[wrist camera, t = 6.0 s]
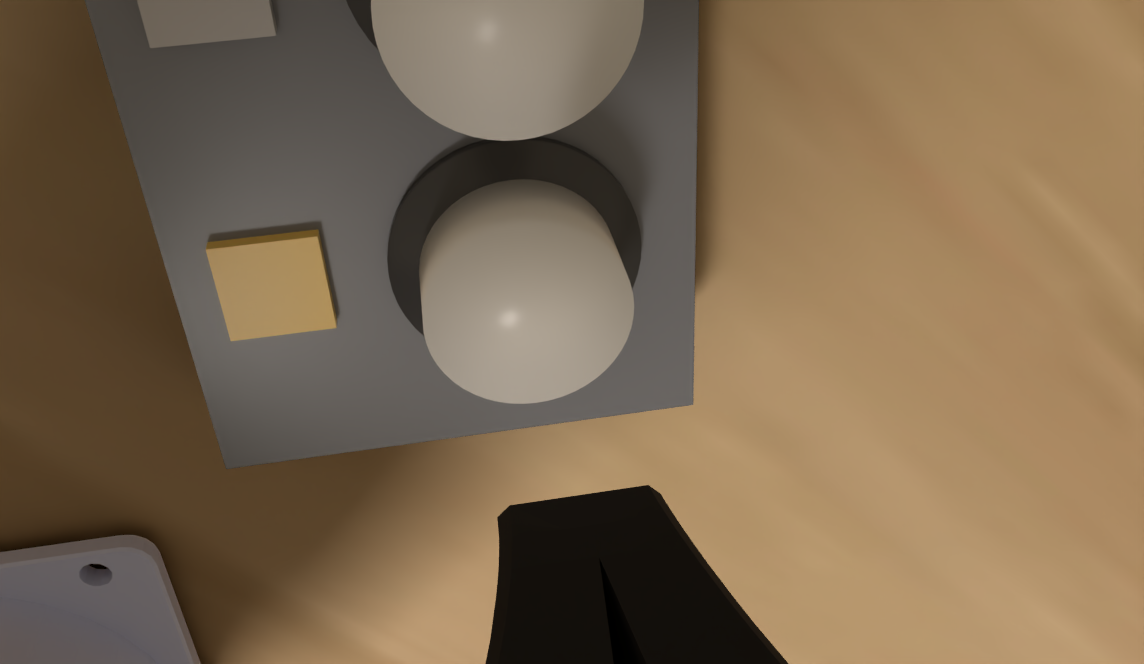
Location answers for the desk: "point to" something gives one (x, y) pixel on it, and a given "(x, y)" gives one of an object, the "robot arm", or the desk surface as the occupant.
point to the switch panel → (376, 217)
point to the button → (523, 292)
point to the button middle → (506, 59)
